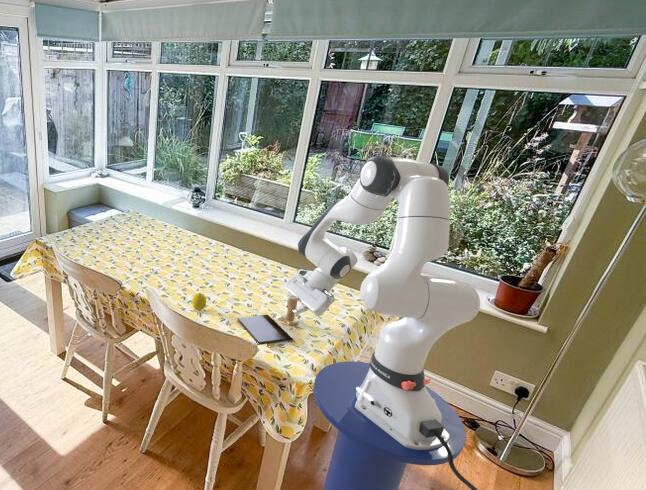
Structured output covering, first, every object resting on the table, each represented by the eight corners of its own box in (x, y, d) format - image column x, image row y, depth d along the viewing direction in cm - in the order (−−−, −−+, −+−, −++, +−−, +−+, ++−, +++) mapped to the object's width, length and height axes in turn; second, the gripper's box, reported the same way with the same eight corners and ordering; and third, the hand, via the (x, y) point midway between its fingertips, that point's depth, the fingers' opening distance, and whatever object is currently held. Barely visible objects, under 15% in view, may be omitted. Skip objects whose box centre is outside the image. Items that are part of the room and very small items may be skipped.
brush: (297, 327, 152) (302, 300, 148) (287, 328, 151) (293, 301, 147) (289, 320, 157) (294, 293, 153) (280, 321, 156) (285, 294, 152)
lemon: (191, 313, 162) (192, 295, 159) (191, 305, 167) (193, 288, 164) (205, 314, 161) (207, 297, 158) (205, 307, 166) (207, 290, 163)
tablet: (308, 338, 148) (308, 335, 148) (258, 345, 143) (259, 342, 143) (283, 315, 162) (283, 312, 162) (237, 320, 158) (237, 317, 157)
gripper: (341, 302, 143) (311, 329, 144) (305, 276, 161) (279, 301, 162) (333, 292, 140) (303, 320, 141) (297, 267, 158) (271, 292, 159)
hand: (290, 309), depth 152 cm, fingers open, 4 cm apart
